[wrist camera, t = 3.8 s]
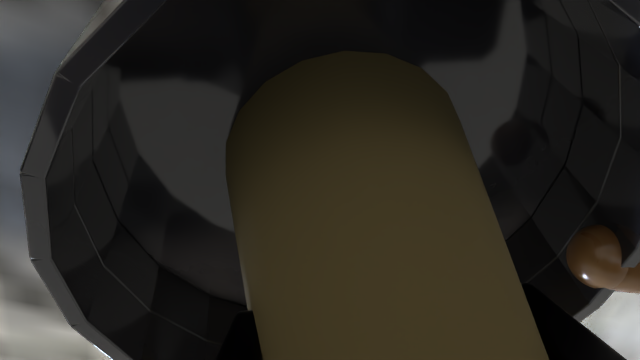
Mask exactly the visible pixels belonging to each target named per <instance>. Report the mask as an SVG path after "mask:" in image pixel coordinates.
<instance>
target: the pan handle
mask: <svg viewBox="0 0 640 360" xmlns="http://www.w3.org/2000/svg"><path fill="white" fill-rule="evenodd" d="M566 260H567V264H568V267H569V269H570V270H571V272H572V274H573V275H574V276H575V277H576V278H577V279H578V280H579V281H581V282H582V283H583V284H585V285H587V286H589V287H592V288H607V289H610V290H615V291H617V292H628V293H639V294H640V262H639V263H638V265H637V266H636V267H635V268H632V267H626V268H622V267H621V260H622V253H621V247H620V243H619V241H618V239H617V237H616V236H615V234H614V233H613V232H612V231H611V230H610V229H609V228H607V227H606V226H603V225H590V226H587V227H585V228H583V229H581V230H579V231H578V232H576V233H575V235H574V236H573V237H572V238H571V239H570V241H569V243H568V246H567V250H566Z"/></svg>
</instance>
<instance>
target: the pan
mask: <svg viewBox="0 0 640 360" xmlns="http://www.w3.org/2000/svg"><path fill="white" fill-rule="evenodd" d="M341 51H356V52H370V53H385V54H388V55H391V56H393V57H396V58H398V59H401V60H403V61H405V62H408V63H410V64H413V65H415V66H417V67H420V68H422V69H423V70H424V71H425V72H426V73H427V74H428V75H430V76H431V77H432V78H433V79H434V80H435V81H436V82H437V83H438V84H439V85H440V86H441V87H442V88H443V89H444V90H445V91H447V93H448V95H449V97H450V99H451V102H452V104H453V106H454V108H455V110H456V113H457V115H458V117H459V119H460V122H461V124H462V127H463V130H464V132H465V135H466V138H467V141H468V143H469V146H470V149H471V151H472V154H473V157H474V159H475V162H476V165H477V167H478V170H479V173H480V175H481V178H482V181H483V183H484V186H485V189H486V191H487V194H488V197H489V200H490V202H491V205H492V208H493V210H494V213H495V216H496V218H497V221H498V224H499V226H500V229H501V232H502V234H503V237H504V240H505V242H506V245H507V248H508V250H509V253H510V256H511V259H512V261H513V264H514V267H515V269H516V272H517V275H518V277H519V280H520V283H529V284H531V285H533V286H534V287H536V288H537V289H538V290H539V291H541V292H542V293H543V294H544V295H546V296H547V297H548V298H550V299H551V300H552V301H553V302H555V303H556V304H557V305H558V306H560V307H561V308H562V309H563V310H565V311H566V312H567V313H568V314H570V315H571V316H572V317H573V318H575V319H576V320H577V321H578V322H581V321H582V320H584V319H585V318H586V317H588V316H589V315H590V314H592V313H593V312H594V311H596V310H597V309H598V308H600V306H602V305H603V304H604V302H605V301H606V300H607V299H608V298H609V297H610V296H611V294H612V293H613V292H614V291H615V290H610V289H607V288H592V287H589V286H587V285H585V284H583V283H582V282H581V281H579V280H578V279H577V278H576V277H575V276H574V275H573V274H572V272H571V270H570V269H569V267H568V264H567V260H566V250H567V246H568V243H569V241H570V239H571V238H572V237H573V236H574V235H575V233H576V232H578V231H579V230H581V229H583V228H585V227H587V226H590V225H603V226H606V227H607V228H609V229H610V230H611V231H612V232H613V233H614V234H615V236H616V237H617V239H618V241H619V243H620V247H621V253H622V260H621V267H622V268H626V267H632V268H635V267H636V266H637V265H638V263H639V262H640V0H104V1H103V3H102V4H101V6H100V7H99V8H98V10H97V11H96V13H95V14H94V16H93V17H92V19H91V20H90V22H89V23H88V25H87V26H86V27H85V29H84V30H83V32H82V33H81V35H80V36H79V38H78V39H77V41H76V42H75V43H74V45H73V46H72V48H71V49H70V51H69V52H68V54H67V55H66V57H65V58H64V59H63V61H62V62H61V64H60V65H59V67H58V68H57V70H56V72H55V73H54V75H53V78H52V81H51V84H50V87H49V89H48V92H47V95H46V98H45V101H44V104H43V106H42V109H41V112H40V115H39V118H38V120H37V123H36V126H35V129H34V132H33V135H32V137H31V140H30V143H29V146H28V149H27V152H26V154H25V157H24V160H23V163H22V166H21V169H20V171H21V172H20V180H21V188H22V197H23V205H24V214H25V223H26V231H27V240H28V248H29V257H30V259H31V262H32V264H33V266H34V267H35V269H36V271H37V272H38V274H39V275H40V277H41V279H42V280H43V282H44V284H45V285H46V287H47V289H48V290H49V292H50V294H51V295H52V297H53V299H54V300H55V302H56V304H57V305H58V307H59V309H60V310H61V312H62V314H63V315H64V317H65V319H66V320H67V322H68V324H69V325H71V327H72V328H73V329H74V330H76V331H77V332H78V333H79V334H81V335H82V336H83V337H84V338H85V339H87V340H88V341H89V342H90V343H92V344H93V345H94V346H95V347H97V348H98V349H99V350H100V351H102V352H103V353H104V354H105V355H106V356H108V357H109V358H110V359H111V360H215V359H216V357H217V355H218V353H219V350H220V348H221V346H222V344H223V342H224V340H225V337H226V335H227V333H228V331H229V329H230V327H231V324H232V322H233V320H234V318H235V316H236V314H237V313H238V312H240V311H246V310H248V309H247V303H246V297H245V291H244V284H243V278H242V272H241V266H240V260H239V254H238V248H237V242H236V236H235V230H234V224H233V218H232V211H231V205H230V199H229V193H228V187H227V181H226V142H227V139H228V137H229V134H230V132H231V130H232V127H233V125H234V122H235V120H236V117H237V115H238V112H239V110H240V109H241V108H242V107H243V106H244V105H245V104H246V103H247V102H248V101H249V99H250V98H251V97H252V96H253V95H254V94H255V93H256V92H257V91H258V89H259V88H260V87H261V86H262V85H263V84H264V83H265V82H266V81H268V80H269V79H271V78H273V77H275V76H276V75H278V74H280V73H281V72H283V71H285V70H287V69H288V68H290V67H292V66H294V65H295V64H297V63H299V62H300V61H303V60H307V59H311V58H315V57H320V56H324V55H328V54H332V53H337V52H341Z"/></svg>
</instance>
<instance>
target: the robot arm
mask: <svg viewBox="0 0 640 360" xmlns="http://www.w3.org/2000/svg"><path fill="white" fill-rule="evenodd" d="M521 285H522V288H523V291H524V293H525V296H526V299H527V301H528V304H529V307H530V309H531V312H532V315H533V318H534V320H535V323H536V326H537V328H538V331H539V334H540V336H541V339H542V342H543V344H544V347H545V350H546V352H547V355H548V358H549V360H626V359H625V358H624V357H622V356H621V355H620V354H619V353H617V352H616V351H615V350H614V349H612V348H611V347H610V346H609V345H607V344H606V343H605V342H604V341H602V340H601V339H600V338H599V337H597V336H596V335H595V334H594V333H592V332H591V331H590V330H589V329H587V328H586V327H585V326H583V325H582V324H581V323H580V322H578V321H577V320H576V319H575V318H573V317H572V316H571V315H570V314H568V313H567V312H566V311H565V310H563V309H562V308H561V307H560V306H558V305H557V304H556V303H555V302H553V301H552V300H551V299H550V298H548V297H547V296H546V295H544V294H543V293H542V292H541V291H539V290H538V289H537V288H536V287H534V286H533V285H531V284H529V283H521ZM215 360H262V355H261V348H260V343H259V337H258V332H257V328H256V323H255V318H254V314H253V311H252V310H246V311H240V312H238V313H237V314H236V316H235V318H234V320H233V322H232V324H231V327H230V329H229V331H228V333H227V335H226V337H225V340H224V342H223V344H222V346H221V348H220V350H219V353H218V355H217V357H216V359H215Z"/></svg>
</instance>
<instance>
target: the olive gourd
mask: <svg viewBox="0 0 640 360" xmlns="http://www.w3.org/2000/svg"><path fill="white" fill-rule="evenodd" d="M226 181H227V187H228V193H229V199H230V205H231V211H232V218H233V224H234V230H235V236H236V242H237V248H238V254H239V260H240V266H241V272H242V278H243V284H244V291H245V297H246V303H247V309H248V310H252V311H253V314H254V318H255V323H256V328H257V332H258V337H259V343H260V348H261V355H262V360H549V358H548V355H547V352H546V350H545V347H544V344H543V342H542V339H541V336H540V334H539V331H538V328H537V326H536V323H535V320H534V318H533V315H532V312H531V309H530V307H529V304H528V301H527V299H526V296H525V293H524V291H523V288H522V285H521V283H520V280H519V277H518V275H517V272H516V269H515V267H514V264H513V261H512V259H511V256H510V253H509V250H508V248H507V245H506V242H505V240H504V237H503V234H502V232H501V229H500V226H499V224H498V221H497V218H496V216H495V213H494V210H493V208H492V205H491V202H490V200H489V197H488V194H487V191H486V189H485V186H484V183H483V181H482V178H481V175H480V173H479V170H478V167H477V165H476V162H475V159H474V157H473V154H472V151H471V149H470V146H469V143H468V141H467V138H466V135H465V132H464V130H463V127H462V124H461V122H460V119H459V117H458V115H457V113H456V110H455V108H454V106H453V104H452V102H451V99H450V97H449V95H448V93H447V91H445V90H444V89H443V88H442V87H441V86H440V85H439V84H438V83H437V82H436V81H435V80H434V79H433V78H432V77H431V76H430V75H428V74H427V73H426V72H425V71H424V70H423V69H422V68H420V67H417V66H415V65H413V64H410V63H408V62H405V61H403V60H401V59H398V58H396V57H393V56H391V55H388V54H385V53H370V52H356V51H341V52H337V53H332V54H328V55H324V56H320V57H315V58H311V59H307V60H303V61H300V62H299V63H297V64H295V65H294V66H292V67H290V68H288V69H287V70H285V71H283V72H281V73H280V74H278V75H276V76H275V77H273V78H271V79H269V80H268V81H266V82H265V83H264V84H263V85H262V86H261V87H260V88H259V89H258V91H257V92H256V93H255V94H254V95H253V96H252V97H251V98H250V99H249V101H248V102H247V103H246V104H245V105H244V106H243V107H242V108H241V109H240V110H239V112H238V115H237V117H236V120H235V122H234V125H233V127H232V130H231V132H230V134H229V137H228V139H227V142H226Z"/></svg>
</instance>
